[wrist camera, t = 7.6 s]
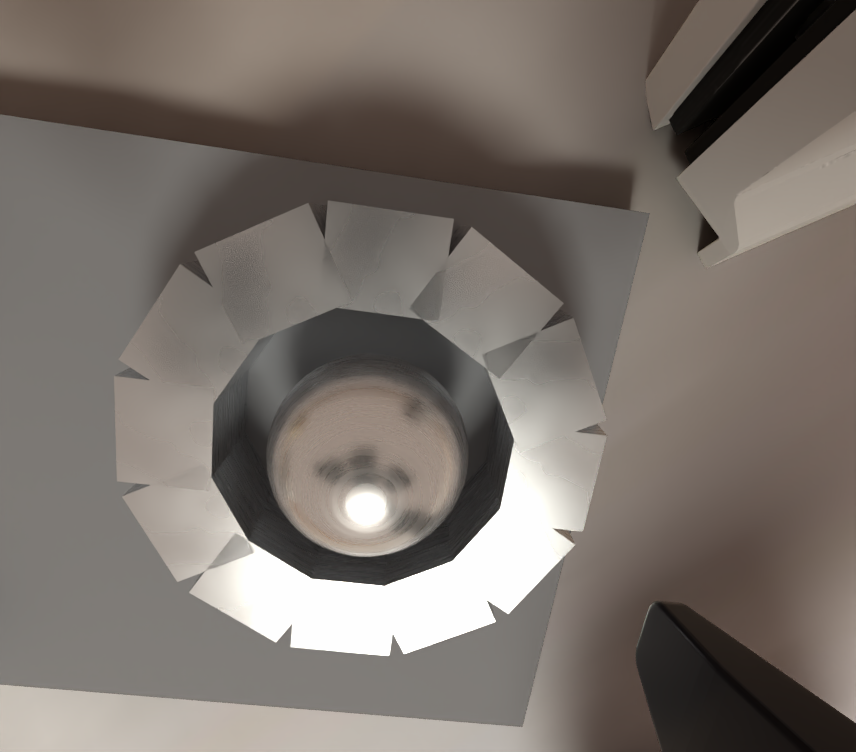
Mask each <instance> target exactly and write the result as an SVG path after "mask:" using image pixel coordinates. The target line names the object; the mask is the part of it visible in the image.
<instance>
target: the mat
mask: <svg viewBox="0 0 856 752" xmlns="http://www.w3.org/2000/svg"><path fill="white" fill-rule="evenodd" d="M328 200H329V201H336V202H343V203H349V204H356V205H363V206H370V207H377V208H383V209H390V210H397V211H404V212H410V213H417V214H424V215H431V216H438V217H444V218H451V219H454V222H453V229H452V235H453V234H454V232H455V231H456V230H457V229H458V227H459V226H460V225H463V226H469V227H472V228H474V229H475V230H476V231H477V232H478V233H480V234H481V235H482V236H483V237H484V238H486V239H487V240H488V241H489V242H491V243H492V244H493V245H494V246H495V247H497V248H498V249H499V250H500V251H501V252H503V253H504V254H505V255H506V256H507V257H509V258H510V259H511V260H512V261H513V262H515V263H516V264H517V265H518V266H519V267H521V268H522V269H523V270H524V271H525V272H527V273H528V274H529V275H530V276H531V277H533V278H534V279H535V280H536V281H538V282H539V283H540V284H541V285H542V286H544V287H545V288H546V289H547V290H548V291H550V292H551V293H552V294H553V295H554V296H556V297H557V298H558V299H559V300H560V301H562V302H563V303H564V304H563V305H562V306H561V307H560V308H559V309H560V310H562V311H563V312H565V313H567V314H568V315H570V316H571V317H573V318H574V321H575V324H576V327H577V330H578V333H579V336H580V339H581V342H582V345H583V348H584V351H585V354H586V357H587V360H588V364H589V367H590V370H591V373H592V376H593V379H594V382H595V385H596V388H597V391H598V394H599V397H600V400H601V404H603V400H604V396H605V392H606V388H607V384H608V380H609V376H610V372H611V368H612V363H613V359H614V355H615V351H616V347H617V343H618V339H619V335H620V331H621V327H622V323H623V319H624V315H625V311H626V307H627V303H628V299H629V295H630V291H631V287H632V283H633V279H634V275H635V271H636V267H637V263H638V259H639V255H640V251H641V247H642V242H643V238H644V234H645V230H646V226H647V222H648V218H649V214H650V213H644V212H638V211H631V210H625V209H618V208H612V207H605V206H599V205H592V204H585V203H579V202H572V201H566V200H559V199H553V198H546V197H539V196H533V195H526V194H520V193H513V192H507V191H500V190H494V189H487V188H480V187H474V186H467V185H461V184H454V183H448V182H441V181H434V180H428V179H421V178H415V177H408V176H402V175H395V174H389V173H382V172H375V171H369V170H362V169H356V168H349V167H343V166H336V165H329V164H323V163H316V162H310V161H303V160H297V159H290V158H284V157H277V156H270V155H264V154H257V153H251V152H244V151H238V150H231V149H224V148H218V147H211V146H205V145H198V144H192V143H185V142H179V141H172V140H165V139H159V138H152V137H146V136H139V135H133V134H126V133H119V132H113V131H106V130H100V129H93V128H87V127H80V126H74V125H67V124H60V123H54V122H47V121H41V120H34V119H28V118H21V117H14V116H8V115H1V114H0V684H1V685H13V686H25V687H38V688H50V689H62V690H75V691H87V692H99V693H112V694H124V695H136V696H149V697H161V698H173V699H186V700H198V701H210V702H222V703H235V704H247V705H259V706H272V707H284V708H296V709H309V710H321V711H333V712H346V713H358V714H370V715H383V716H395V717H407V718H419V719H432V720H444V721H456V722H469V723H481V724H493V725H506V726H518V727H522V726H523V722H524V718H525V714H526V710H527V706H528V702H529V698H530V694H531V690H532V686H533V682H534V678H535V674H536V670H537V666H538V662H539V658H540V654H541V650H542V646H543V642H544V638H545V634H546V630H547V626H548V622H549V618H550V614H551V609H552V605H553V601H554V597H555V593H556V589H557V585H558V581H559V577H560V573H561V569H562V565H563V561H564V557H565V556H564V557H563V558H562V559H561V560H560V561H559V562H558V563H557V564H556V565H555V566H554V567H553V568H552V569H551V570H550V571H549V572H548V573H547V574H546V575H545V576H544V578H543V579H542V580H541V581H540V582H539V583H538V584H537V585H536V586H535V587H534V588H533V589H532V590H531V591H530V592H529V593H528V594H527V595H526V596H525V597H524V598H523V599H522V600H521V601H520V602H519V603H518V604H517V605H516V606H515V607H514V608H513V609H512V610H511V611H510V613H509V614H508V613H506V612H505V611H503V610H502V609H500V608H499V607H497V606H496V605H494V604H492V607H493V612H494V616H495V621H496V622H493V623H491V624H488V625H485V626H482V627H479V628H476V629H474V630H471V631H468V632H465V633H462V634H459V635H456V636H454V637H451V638H448V639H445V640H442V641H439V642H437V643H434V644H431V645H428V646H425V647H422V648H419V649H417V650H414V651H411V652H408V653H405V654H404V653H403V651H402V649H401V647H400V645H399V643H398V641H397V639H396V637H395V635H394V634H393V633H392V639H391V646H390V653H389V656H386V655H375V654H364V653H353V652H341V651H330V650H319V649H308V648H296V647H291V638H292V625H293V623H292V624H291V625H290V626H289V628H288V629H287V630H286V631H285V632H284V634H283V635H282V636H281V637H280V638H279V639H278V641H277V642H274V641H273V640H271V639H269V638H267V637H266V636H264V635H262V634H260V633H259V632H257V631H255V630H253V629H252V628H250V627H248V626H246V625H245V624H243V623H241V622H239V621H238V620H236V619H234V618H232V617H231V616H229V615H227V614H225V613H224V612H222V611H220V610H218V609H217V608H215V607H213V606H211V605H210V604H208V603H206V602H204V601H203V600H201V599H199V598H197V597H196V596H194V595H192V594H190V593H189V592H190V590H191V588H192V586H193V585H194V583H195V581H196V580H197V578H198V576H199V575H200V574H197V575H195V576H192V577H189V578H187V579H184V580H181V581H179V582H177V581H176V579H175V578H174V576H173V575H172V573H171V571H170V570H169V568H168V567H167V565H166V564H165V562H164V561H163V559H162V558H161V556H160V555H159V553H158V551H157V550H156V548H155V547H154V545H153V544H152V542H151V541H150V539H149V538H148V536H147V535H146V533H145V531H144V530H143V528H142V527H141V525H140V524H139V522H138V521H137V519H136V518H135V516H134V514H133V513H132V511H131V510H130V508H129V507H128V505H127V504H126V502H125V501H124V499H123V498H122V496H123V495H124V494H125V493H126V492H127V491H128V490H129V489H130V488H131V487H132V486H133V485H134V484H135V483H128V482H119V481H117V468H116V432H115V396H114V376H115V375H117V374H119V373H120V372H122V371H124V370H126V369H128V368H130V367H129V366H128V365H126V364H124V363H123V362H121V361H120V360H118V359H119V358H120V356H121V355H122V353H123V352H124V350H125V349H126V347H127V346H128V344H129V342H130V341H131V339H132V338H133V336H134V335H135V333H136V332H137V330H138V328H139V327H140V325H141V324H142V322H143V321H144V319H145V318H146V316H147V315H148V313H149V311H150V310H151V308H152V307H153V305H154V304H155V302H156V301H157V299H158V297H159V296H160V294H161V293H162V291H163V290H164V288H165V287H166V285H167V284H168V282H169V280H170V279H171V277H172V276H173V274H174V273H175V271H176V270H177V268H178V266H179V265H180V264H183V263H188V262H193V261H198V258H197V256H196V254H195V253H194V252H196V251H198V250H200V249H203V248H205V247H207V246H209V245H212V244H214V243H216V242H219V241H221V240H223V239H226V238H228V237H230V236H233V235H235V234H237V233H240V232H242V231H244V230H247V229H249V228H251V227H253V226H256V225H258V224H260V223H263V222H265V221H267V220H270V219H272V218H274V217H277V216H279V215H281V214H284V213H286V212H288V211H290V210H293V209H295V208H297V207H300V206H302V205H304V204H307V203H313V204H320V205H328ZM452 235H451V236H452ZM355 354H382V355H388V356H393V357H396V358H400V359H403V360H406V361H408V362H410V363H412V364H414V365H416V366H418V367H419V368H421V369H423V370H424V371H426V372H427V373H429V374H430V375H431V376H432V377H434V378H435V379H436V380H437V381H438V382H439V383H440V384H441V385H442V386H443V387H444V388H445V389H446V390H447V392H448V393H449V395H450V396H451V398H452V399H453V401H454V402H455V404H456V406H457V408H458V410H459V412H460V414H461V416H462V419H463V422H464V425H465V429H466V434H467V439H468V450H469V458H468V467H467V475H466V479H465V483H466V482H467V481H468V480H469V479H470V477H471V476H472V475H473V474H474V473H475V472H476V471H477V469H478V468H479V467H480V466H481V465H482V464H483V463H484V461H485V460H486V454H487V449H488V444H489V438H490V433H491V428H492V422H493V417H494V412H495V406H496V399H495V396H494V394H493V391H492V388H491V386H490V383H489V381H488V378H487V376H486V373H485V370H484V368H483V366H482V365H481V364H480V363H478V362H477V361H476V360H474V359H473V358H472V357H471V356H469V355H468V354H467V353H465V352H464V351H463V350H461V349H460V348H459V347H458V346H456V345H455V344H454V343H452V342H451V341H450V340H448V339H447V338H446V337H444V336H443V335H442V334H441V333H439V332H438V331H437V330H435V329H434V328H433V327H431V326H430V325H429V324H427V323H426V322H425V321H424V320H422V319H417V318H409V317H402V316H394V315H387V314H379V313H372V312H364V311H357V310H350V309H342V308H335V309H332V310H330V311H327V312H325V313H323V314H320V315H318V316H315V317H313V318H310V319H308V320H306V321H303V322H301V323H298V324H296V325H293V326H291V327H289V328H286V329H284V330H281V331H279V332H276V333H275V334H274V336H273V337H272V339H271V340H270V341H269V343H268V344H267V346H266V347H265V348H264V350H263V351H262V352H261V354H260V355H259V357H258V358H257V359H256V361H255V362H254V364H253V365H252V366H251V368H250V369H249V374H248V395H247V417H246V434H247V436H248V438H249V439H250V441H251V443H252V445H253V447H254V449H255V450H256V452H257V454H258V456H259V458H260V460H261V461H262V463H263V465H264V467H265V469H266V470H267V460H266V451H267V442H268V435H269V432H270V428H271V425H272V422H273V419H274V417H275V415H276V412H277V410H278V408H279V406H280V405H281V403H282V402H283V400H284V399H285V397H286V396H287V394H288V393H289V392H290V391H291V390H292V389H293V387H294V386H295V385H296V384H297V383H298V382H299V381H300V380H301V379H303V378H304V377H305V376H306V375H307V374H309V373H310V372H312V371H313V370H315V369H316V368H318V367H320V366H322V365H324V364H326V363H328V362H330V361H333V360H336V359H339V358H342V357H345V356H350V355H355ZM597 424H598V423H597ZM465 483H464V484H465ZM568 531H569V533H571V530H568Z"/></svg>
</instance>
